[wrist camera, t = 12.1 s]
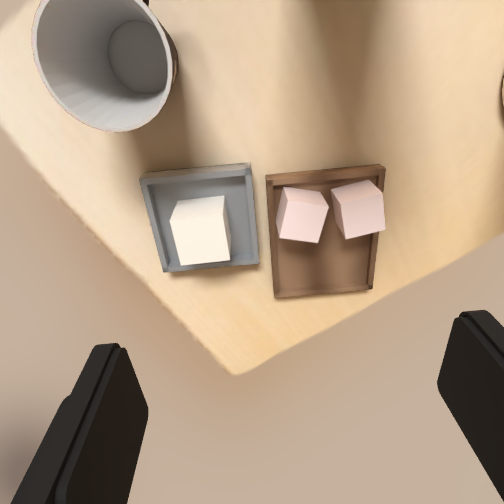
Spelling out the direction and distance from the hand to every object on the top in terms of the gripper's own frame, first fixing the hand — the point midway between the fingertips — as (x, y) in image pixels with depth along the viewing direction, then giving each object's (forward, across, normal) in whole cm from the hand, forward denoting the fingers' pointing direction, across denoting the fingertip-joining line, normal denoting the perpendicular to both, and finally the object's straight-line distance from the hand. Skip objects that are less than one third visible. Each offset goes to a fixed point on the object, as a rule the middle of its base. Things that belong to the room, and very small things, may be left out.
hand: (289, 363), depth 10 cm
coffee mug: (+28, +8, -9) cm, 31 cm away
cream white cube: (+28, +6, +8) cm, 29 cm away
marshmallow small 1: (+27, -10, +7) cm, 30 cm away
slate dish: (+28, +6, +8) cm, 30 cm away
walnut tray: (+28, -7, +11) cm, 31 cm away
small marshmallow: (+27, -4, +7) cm, 28 cm away
